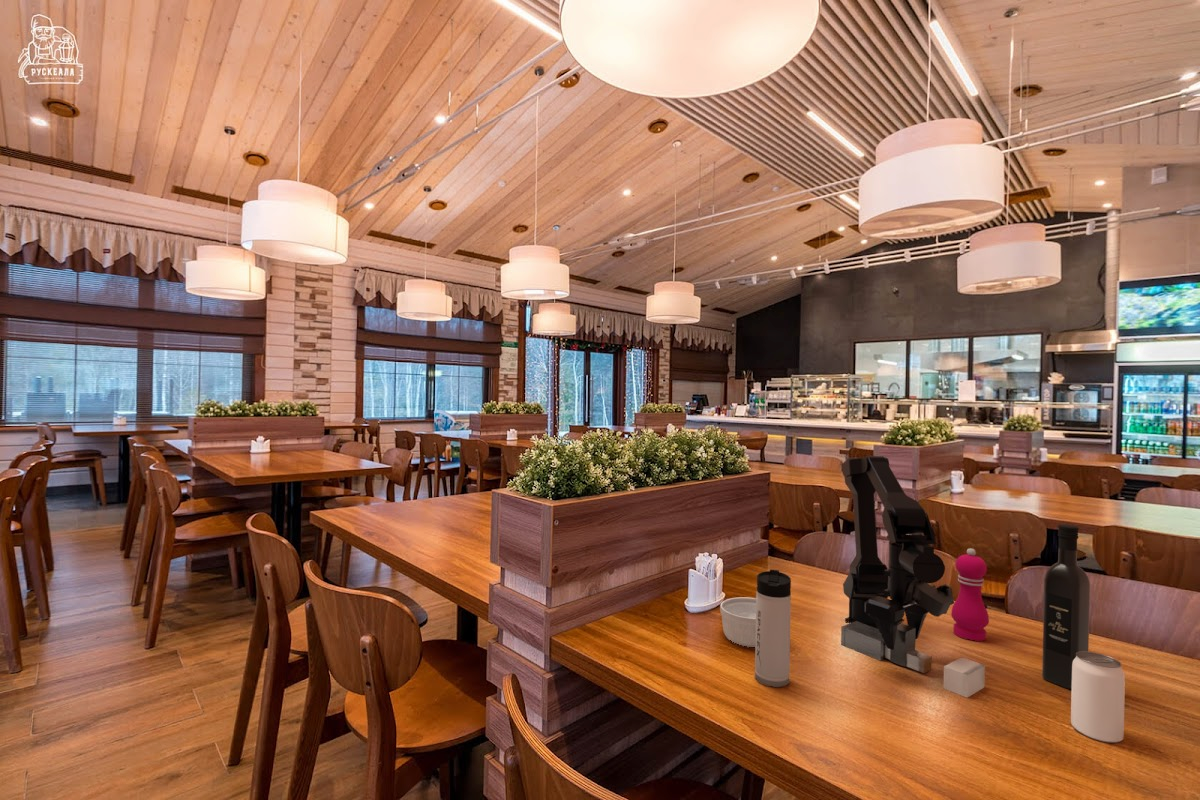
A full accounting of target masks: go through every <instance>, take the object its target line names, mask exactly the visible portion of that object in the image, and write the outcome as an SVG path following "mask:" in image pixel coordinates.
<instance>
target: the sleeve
mask: <svg viewBox="0 0 1200 800" xmlns="http://www.w3.org/2000/svg"><path fill="white" fill-rule="evenodd" d="M840 630H841V631H840V632H841V636H840V646H843V647H846V648H848V649H851V650H853V651H855V652H858V653H861V654H863V655H865V656H868V657H869V658H872V659H873V658H874V659H875V660H877V661H881V662H882V661H883V660H884V657H883V647H884V643H885V642H884V640H883V637H882V635H881V633H880V631H879V629H878V627H876V628H874V627H871V626H868V625H866V624H863V623H860V622H857V621H855V622H852V623H849V622H848V623H847V624H845V625H841V627H840Z"/></svg>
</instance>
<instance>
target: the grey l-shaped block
mask: <svg viewBox="0 0 1200 800" xmlns="http://www.w3.org/2000/svg"><path fill="white" fill-rule="evenodd" d="M915 629H916V628H914V627H911V626H908V624H904V623H903V622H902V623H900V624H899V625H898V626H897V632H896V639H895V645H894V649H893V650H891V649H888V648H887V646H886V644H885V643H884V647H883V659H888V660H889V661H890V662H892V663H894V664H897V665H898V666H899V665H900V666H901V667H904V668H905V667H907V668H908V669H909V668H910V669H912V670H914V671H917V672H920V673H922V674H926V673H928V672H929V671H931V670H933V656H932V655H929V654H927V653H925V652H921V651H919V650H916V639H915Z"/></svg>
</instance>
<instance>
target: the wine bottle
mask: <svg viewBox="0 0 1200 800" xmlns="http://www.w3.org/2000/svg"><path fill="white" fill-rule="evenodd" d="M1057 530H1058V531H1057V536H1058V550H1057V551H1058V553H1057V554H1058V556H1057V557H1058V558H1057V562H1056V563H1054V564H1052V565H1051V566H1050V567H1048V569H1047V571H1046V573H1045V576H1044V580H1043V581H1044V585H1043V586H1044V587H1043V589H1044V591H1043V621H1042V623H1043V624H1042V627H1043V629H1042V630H1043V632H1042V638H1043V639H1042V663H1041V664H1042V665H1041V666H1042V668H1041V669H1042V671H1041V674H1042V675H1041V677H1042V678H1043V679H1044V680H1045V681H1047V682H1050V683H1052V684H1055V685H1057V686H1060V687H1062V688H1065V689H1067V690H1070V689H1071V690H1070V691H1072V663H1073V660H1074V659H1075V658H1076V653H1077V652H1080V651H1088V652H1089V647H1090V646H1089V644H1090V643H1089V640H1090V639H1089V638H1090V606H1091V605H1090V602H1091V599H1090V595H1091V583H1090V582H1091V581H1090V578H1089V576H1088V574H1087V573H1086V571H1084V569H1083V568H1081V567H1080V566H1079V565H1078V563H1077V561H1078V560H1077V559H1078V539H1079V527H1078V526H1075V525H1073V524H1072V525H1070V524H1058V525H1057Z"/></svg>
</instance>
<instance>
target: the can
mask: <svg viewBox="0 0 1200 800" xmlns="http://www.w3.org/2000/svg"><path fill="white" fill-rule="evenodd" d="M1125 677H1126V676H1125V673H1124V670H1123V669H1122V662H1120V661H1119V660H1118V659H1116V658H1114V657H1111V656H1109V655H1105V654H1103V653H1097V652H1094V651H1089V650H1088V651H1080V652H1077V653H1076V658H1075V659H1074V660H1073V663H1072V690H1070V691H1071V696H1070V697H1071V699H1070V707H1071V708H1070V724H1071V726H1072V727H1073V728H1074V730H1076V732H1079V734H1082V735H1083V736H1085V737H1088V738H1089V739H1092V740H1095V741H1099V742H1103V743H1107V744H1108V743H1109V744H1116V743H1120V742H1122V741H1123V740H1124V731H1125V730H1124V729H1125V725H1124V724H1125V699H1126V698H1125V694H1126V693H1125V691H1126V690H1125V689H1126V685H1125V683H1126V678H1125Z"/></svg>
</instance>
